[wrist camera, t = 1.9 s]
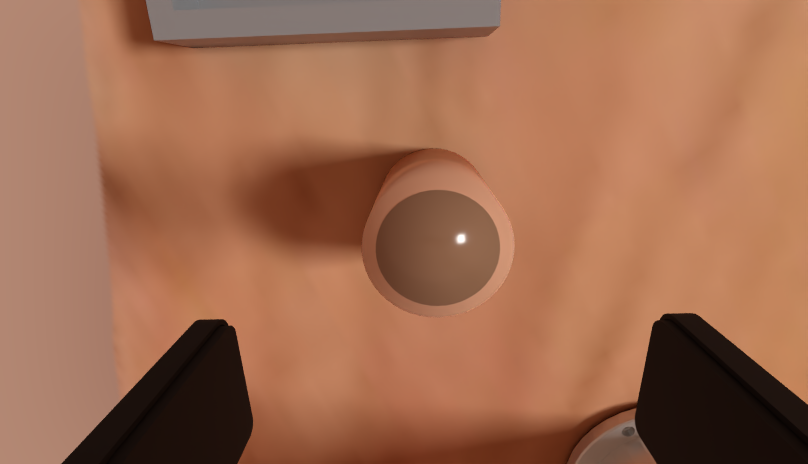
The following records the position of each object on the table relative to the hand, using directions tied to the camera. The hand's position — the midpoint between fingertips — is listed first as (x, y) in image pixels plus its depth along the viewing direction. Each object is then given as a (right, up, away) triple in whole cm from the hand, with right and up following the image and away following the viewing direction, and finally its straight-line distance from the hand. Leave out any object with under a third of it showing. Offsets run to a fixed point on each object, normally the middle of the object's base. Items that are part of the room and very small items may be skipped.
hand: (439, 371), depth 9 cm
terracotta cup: (+1, +5, +15) cm, 16 cm away
